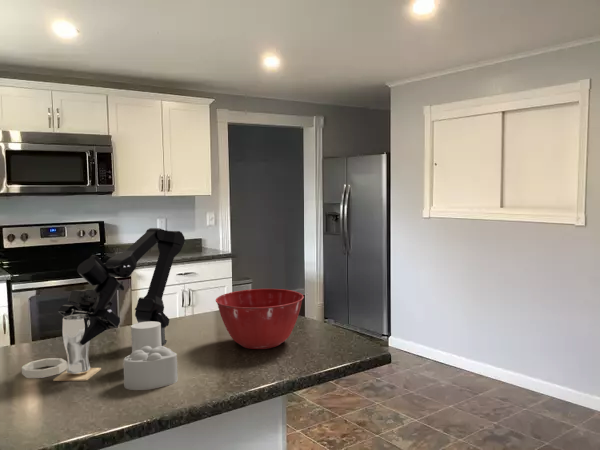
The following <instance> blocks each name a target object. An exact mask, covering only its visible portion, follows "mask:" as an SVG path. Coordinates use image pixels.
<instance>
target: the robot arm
mask: <svg viewBox="0 0 600 450" xmlns="http://www.w3.org/2000/svg"><path fill="white" fill-rule="evenodd" d="M156 244H157V245H156ZM155 245H156V246H157V250H158V253H159V254H158V256H157V260H156V264H155V266H154V270H153V274H152V278H151V281H150V284H149V286H148V290H147V293H146V295H145V296H144V297H139V298H138V300H137V303H136V307H135V308H134V311H135V313H134V316H135V319H136V320H137V323H140V322H148V321H154V322H160V323H161V344H162V346H164V345H165V344H166V343H167V342H168V340H167V339H166V331H165V329H166V327H168V326H169V323H170V318H169V317H168V316H167V315H166V314H165V313H164V312H165V306H164V305H165V304H164V302H163V301H164V300H163V297H164V293H165V291H166V290H165V289H166V286H167V283H168V279H169V276H170V274H171V273H170V272H171V269H172V266H173V262H174V259H175V258H176V256H177V255H178V254H179V253H181V251H182V249H183V246H184V245H185V236H184V233H183V232H182V231H180V230H166V229H163V228H160V227H150V228H148V229H147V230H146V231H145V233H144V234H142V235H141V236H140V237H139V238H138V239H137V240H136V241H135V242H133V244H131V245H130V246H129V247H128V248H127V249H126V250H124V251H123V252H121V253H117V254H115V255H114V256H111V257H110V258H108V259H107V261H106V262H102V261H101V259H100V258H99V256H98V255H90V257H89V258H87V259H85V260H84V261H82V262H81V263H79V265H78V266H77V269H76V271H77V273H78V274H79V275H80V276H81V277H82V279H84V280H85V281H86V282H87V283H88V284H89V285H90V286H95V287H94V288H93V289H87V290H86V291H80V290H70V294H69V296H68V299H67V302H68V303H73V304H74V305H72V304H63V305H61V306H60V308H58V311H57V312H58V313H59V314H60V315H61V316H62V317H65V316H68V315H74V314H87V315H89V322H90V325H89V327H88V328H87V330H86V333H85V335H84V337H83V338H82V340H81V342H80V343H81V344H82V345H84V344H86V343H87V342H88V341H90V342H91V341H92V340H93V339H94V338H96V337H97V336H99V335H100V334H102V333H103V332H105V331H107V330H110V328H115V329H117V328H118V326H119V325H120V323H121V317H120V316H118V314H117V313H115V312H114V311H113V310H112V309H110V307H112V305H113V303H112V302H111V300H112V299H113V297H114V295H116V292H117V291H124V290H125V286H124V284H123V281H122V280H118V279H117V278H123V279H125V278H126V279H128V278H129V277H130V276H131V275H132V274H133V272H134V271H135V270H136V268H137V263H138V262H139V261H140V260H141V259H142V258H143V257H144V256H145V255H146V254H147V253H148V252H149V251H150V250H151V249H152V248H153V247H154V246H155ZM75 304H77V306H76V305H75ZM77 307H78V308H77ZM108 307H109V308H108Z"/></svg>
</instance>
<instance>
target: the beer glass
mask: <svg viewBox="0 0 600 450" xmlns="http://www.w3.org/2000/svg"><path fill="white" fill-rule="evenodd" d="M89 325H90V319H89V315H87V314H74V315H68V316H65V317H64V316H62V342H63V345H64V349H65V352H66V357H67V369H66V370H65V371H66V372H67V373H68V374H80V373H84V372H87V371H89V370H90V368H91V364H90V361H89V352H90V351H89V349H90V342H91V340H90V341H88V342H87V343H86V344H84V345H82V344H81V343H80V342H81V340H82V338H83V337H84V335H85V333H86V330H87V328H88V327H89Z"/></svg>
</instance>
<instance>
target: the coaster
mask: <svg viewBox="0 0 600 450" xmlns="http://www.w3.org/2000/svg"><path fill="white" fill-rule="evenodd" d="M99 371H102V367H90V370H89V371H87V372H84V373H80V374H68V373H67V372H66V370H64V371H63V372H61V373H60V374H58V375H57V376H56V377H55V378H53V379H52V380H53V382H55V381H57V382H58V381H59V382H60V381H61V382H62V381H63V382H65V381H67V382H68V381H69V382H72V381H73V382H77V381H78V382H81V381H82V382H83V381H84V382H85V381H88V380H89V379H91V378H92V377H94V376H95V374H97V373H98V372H99Z"/></svg>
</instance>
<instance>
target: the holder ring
mask: <svg viewBox="0 0 600 450" xmlns="http://www.w3.org/2000/svg"><path fill="white" fill-rule="evenodd" d="M67 363H68V360H67V361H66V359H64V358H61V357H59V358H58V357H50V358H49V357H48V358H41V359H38V360H32V361H30V362H28V363H26V364H24V365H23V366H21V375H22V376H23V377H25V378H26V379H44V378H47V377H52V376H55V375H57V376H58V375H60V374H62V373H63V372H65V371H66V370H67ZM45 367H48V368H45ZM41 368H42V369H41Z"/></svg>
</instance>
